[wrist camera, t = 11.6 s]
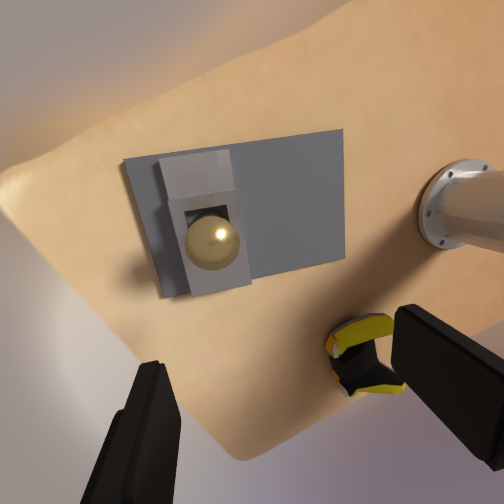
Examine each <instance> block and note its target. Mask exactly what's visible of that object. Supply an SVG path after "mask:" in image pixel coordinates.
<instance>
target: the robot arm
mask: <svg viewBox="0 0 504 504" xmlns="http://www.w3.org/2000/svg"><path fill="white" fill-rule="evenodd" d="M418 224H419V228H420V232H421V234H422V236H423V237H424V239H425V240H426V241H427V242H428V243H430V244H431V245H433V246H436V247H438V248H442V249H455V248H459V247H462V246H464V245H466V244H469V245H473V246H477V247H481V248H485V249H489V250H492V251H496V252H500V253H504V171H495V169H494V168H493V167H492V166H491V165H490V164H489V163H487V162H486V161H484V160H480V159H464V160H459V161H456V162H454V163H451V164H450V165H448V166H447V167H445V168H444V169H442V170H441V171H440V172H439V173H438V174H437V175H436V176H435V177H434V178H433V180H432V181H431V182H430V184H429V185H428V187H427V188H426V190H425V192H424V194H423V197H422V199H421V203H420V206H419V213H418ZM391 365H392V368H393V369H394V371H395V372H396V373H397V374H398V375H399V376H400V377H401V378H402V380H403V381H404V382H405V383H406V384H407V385H408V386H409V387H410V388H411V389H412V390H413V391H414V392H415V393H416V394H417V395H418V396H419V398H420V399H421V400H422V401H423V402H424V403H425V404H426V405H427V406H428V407H429V408H430V409H431V410H432V411H433V412H434V413H435V414H436V416H437V417H438V418H439V419H440V420H441V421H442V422H443V423H444V424H445V425H446V426H447V427H448V428H449V429H450V430H451V431H452V432H453V433H454V435H455V436H456V437H457V438H458V439H459V440H460V441H461V442H462V443H463V444H464V445H465V446H466V447H467V448H468V449H469V451H470V452H471V453H472V454H473V455H474V456H475V457H477V458H478V459H480V460H482V461H484V462H485V463H486V464H487V465H488V466H489V467H490V468H491V469H492V470H493V471H497V470H501V469H504V359H502V358H501V357H499V356H497V355H496V354H494V353H493V352H491V351H489V350H487V349H486V348H485V347H483V346H481V345H480V344H478V343H477V342H475V341H473V340H472V339H470V338H469V337H467V336H466V335H464V334H462V333H461V332H459V331H458V330H456V329H454V328H453V327H451V326H450V325H448V324H446V323H445V322H443V321H442V320H440V319H438V318H437V317H435V316H434V315H432V314H430V313H429V312H427V311H426V310H424V309H423V308H421V307H419V306H418V305H416V304H409V305H405V306H400V307H399V308H398V309H397V311H396V312H395V318H394V330H393V342H392V354H391ZM180 431H181V416H180V412H179V409H178V406H177V402H176V399H175V396H174V393H173V390H172V386H171V383H170V380H169V377H168V373H167V370H166V367H165V364H164V363H161V364H160V363H159V361H158V360H156V361H151V362H147V363H142V364H141V365H140V366H139V369H138V371H137V374H136V377H135V380H134V383H133V386H132V388H131V391H130V393H129V396H128V399H127V402H126V405H125V407H124V409H122V410H119V411H117V413H116V414H115V416H114V418H113V420H112V423H111V425H110V428H109V431H108V433H107V436H106V438H105V441H104V443H103V446H102V448H101V451H100V453H99V456H98V459H97V461H96V464H95V466H94V469H93V471H92V474H91V476H90V479H89V482H88V484H87V487H86V489H85V492H84V495H83V497H82V499H81V502H80V504H173V495H174V485H175V477H176V468H177V459H178V449H179V439H180Z"/></svg>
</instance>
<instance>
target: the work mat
mask: <svg viewBox="0 0 504 504" xmlns="http://www.w3.org/2000/svg"><path fill="white" fill-rule="evenodd" d="M224 149H229V154H230V160H231V167H232V173H233V179H234V185H235V189H237V195H238V201H239V207H240V213H241V220H242V226H243V232H244V238H245V244H246V251H247V257H248V263H249V269H250V276H251V279H254V278H259V277H263V276H268V275H273V274H277V273H282V272H286V271H291V270H295V269H300V268H304V267H309V266H313V265H318V264H322V263H327V262H331V261H336V260H340V259H345V219H344V153H343V129H339V130H332V131H324V132H317V133H310V134H302V135H295V136H288V137H281V138H273V139H266V140H259V141H252V142H244V143H237V144H230V145H222V146H215V147H208V148H201V149H193V150H186V151H179V152H172V153H164V154H157V155H150V156H143V157H135V158H128V159H123V160H124V164H125V167H126V170H127V173H128V177H129V180H130V183H131V187H132V190H133V193H134V197H135V200H136V203H137V207H138V210H139V213H140V216H141V220H142V223H143V226H144V230H145V233H146V236H147V240H148V243H149V246H150V250H151V253H152V256H153V259H154V263H155V266H156V269H157V273H158V276H159V279H160V283H161V286H162V289H163V293H164V296H165V298H168V297H173V296H177V295H182V294H187V293H191V290H190V286H189V283H188V279H187V275H186V271H185V267H184V263H183V259H182V255H181V252H180V248H179V244H178V240H177V236H176V232H175V228H174V225H173V221H172V217H171V213H170V209H169V205H168V200H169V198H168V194H167V190H166V186H165V183H164V179H163V175H162V171H161V167H160V163H159V159H160V158H167V157H174V156H181V155H188V154H195V153H203V152H210V151H217V150H224ZM205 211H214V212H216V213H218V214H219V215H220V217H221V218H223V219H225V220H227V221H228V219H227V213H226V208H225V205H219V206H213V207H207V208H202V209H196V210H190V211H186V214H187V218H188V222H189V226H191V225H192V224H193V223H194V222H196V221H197V218H198V216H199V215H200V214H201V213H202V212H205Z"/></svg>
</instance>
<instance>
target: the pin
mask: <svg viewBox="0 0 504 504" xmlns="http://www.w3.org/2000/svg"><path fill="white" fill-rule="evenodd" d="M184 247H185V252H186V254H187V257H188V258H189V260H190V261H191V262H192V263H193V264H194V265H196V266H197V267H199V268H201V269H204V270H209V271H215V270H220V269H223V268H225V267H227V266H229V265H230V264H231V263H232V262H233V261H234V260H235V259H236V257H237V255H238V253H239V249H240V239H239V235H238V233H237V231H236V230H235V228H234V227H233V225H232V224H231V223H230V222H228V221H227V220H225V219H223V218H221V217H220V215H219V214H218V213H216V212H214V211H205V212H202V213H201V214H200V215H199V216H198V218H197V221H196V222H194V223H193V224H192V225H191V226H190V228H189V229H188V231H187V234H186V237H185V242H184Z"/></svg>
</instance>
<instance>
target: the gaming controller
mask: <svg viewBox="0 0 504 504" xmlns="http://www.w3.org/2000/svg"><path fill="white" fill-rule="evenodd" d="M393 330H394V320H393V319H392V318H391V317H390V316H388V315H386V314H384V313H368V314H365V315H363V316H360V317H358V318H355V319H352V320H350V321H347V322H346V323H344V324H343V325H341V326H339V327H338V328H336V329H335V330H334V331H333V332H332V333H330V335H329V338H328V340H327V342H326V344H325V349H326V350H327V352H328V353H329V357H330V360H331V364H332V367H333V371H332V374H333V376H334V377H335V379H336V380H337V382H338V383H339V384H340V385H341V387H342V391H343V394H344V396H345V397H347V396H350V397H352V396H354V395H355V394H356V393H357V392H359V391H361V392H373V393H381V394H392V395H393V394H397V393H401V392H403V390H404V387H405V385H406V383H405V382H404V381H403V380H402V378H401V377H400V376H399V375H398V374H397V373H396V372H395V371H394V370H393V369H391V368H389V367H388V366H386V365H384V364H383V363H381V362H380V361H378V358H377V353H376V347H375V342H374V339H375V338H380V337H384V336H388V335H391V334H393Z"/></svg>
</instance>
